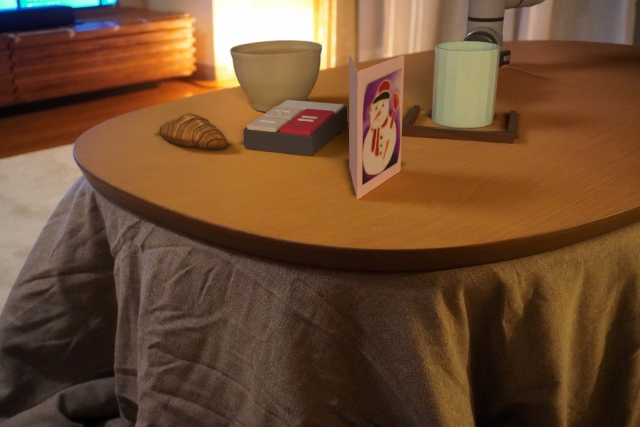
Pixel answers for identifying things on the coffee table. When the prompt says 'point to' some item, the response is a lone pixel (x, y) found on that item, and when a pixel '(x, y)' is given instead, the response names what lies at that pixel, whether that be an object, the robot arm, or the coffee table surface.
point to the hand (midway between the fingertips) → (467, 72)
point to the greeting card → (375, 123)
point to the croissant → (193, 133)
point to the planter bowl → (276, 70)
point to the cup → (465, 83)
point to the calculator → (296, 127)
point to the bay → (457, 130)
